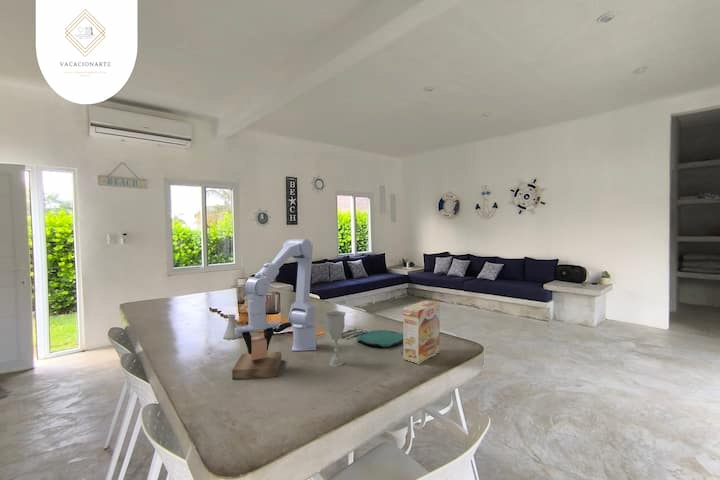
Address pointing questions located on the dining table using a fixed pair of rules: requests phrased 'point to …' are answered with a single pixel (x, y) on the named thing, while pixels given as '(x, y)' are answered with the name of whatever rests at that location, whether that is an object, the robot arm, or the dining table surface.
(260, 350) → the terracotta block
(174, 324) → the dining table surface
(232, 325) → the flask
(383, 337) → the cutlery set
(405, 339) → the coffeecake box
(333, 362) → the chalice
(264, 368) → the walnut base
